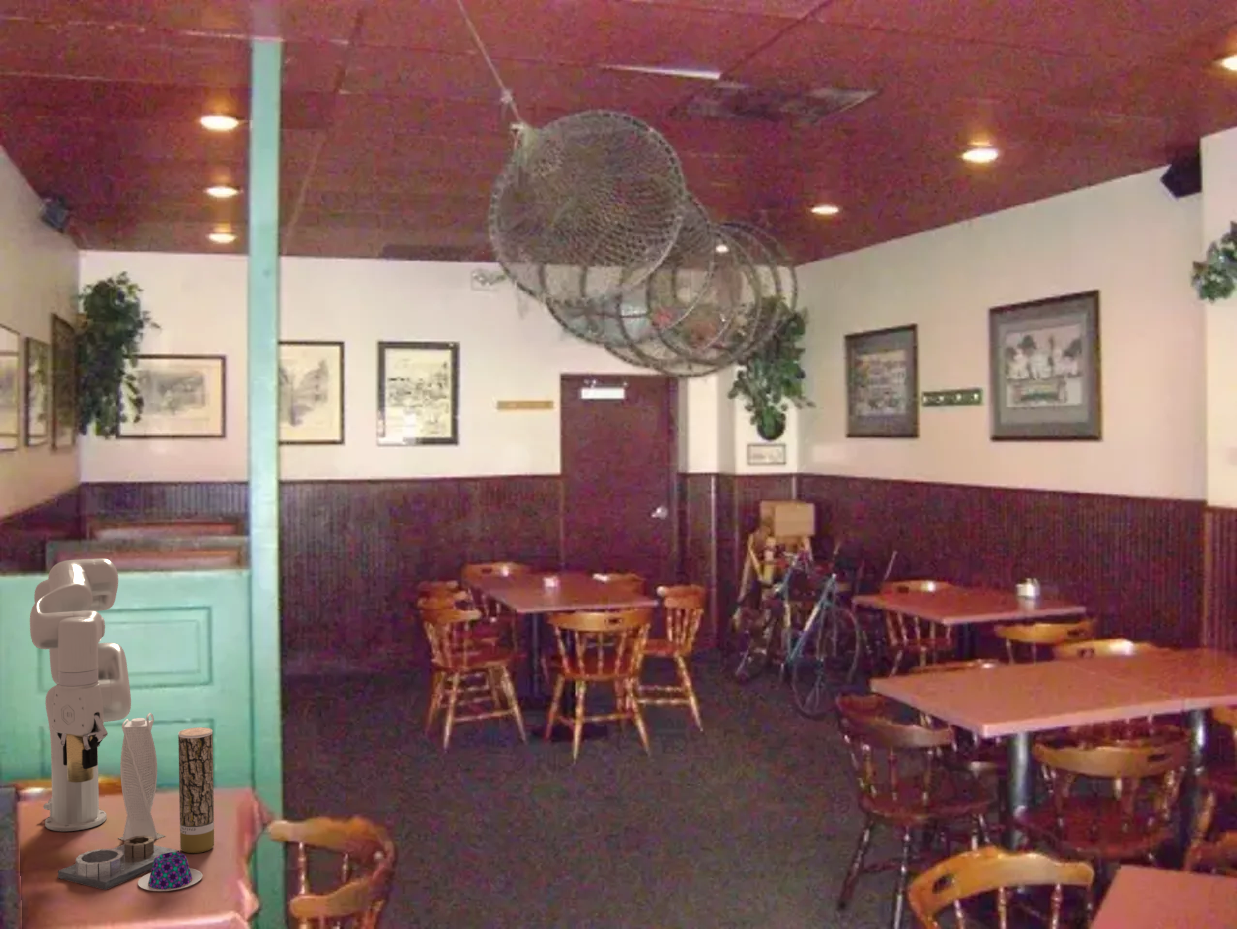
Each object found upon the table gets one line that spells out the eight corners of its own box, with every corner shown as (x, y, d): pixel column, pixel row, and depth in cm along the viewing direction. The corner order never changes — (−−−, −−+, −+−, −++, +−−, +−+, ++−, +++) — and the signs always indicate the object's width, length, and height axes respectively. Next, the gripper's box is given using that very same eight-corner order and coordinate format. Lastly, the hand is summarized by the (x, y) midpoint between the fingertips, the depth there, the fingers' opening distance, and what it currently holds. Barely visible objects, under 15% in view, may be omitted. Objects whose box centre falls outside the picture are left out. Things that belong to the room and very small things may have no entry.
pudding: (145, 872, 256) (145, 847, 255) (207, 870, 257) (207, 844, 257) (131, 896, 244) (130, 869, 243) (196, 893, 245) (195, 866, 245)
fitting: (62, 780, 261) (60, 732, 260) (82, 773, 266) (80, 726, 265) (79, 783, 259) (78, 735, 258) (99, 777, 263) (98, 729, 263)
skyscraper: (169, 839, 275) (167, 711, 273) (136, 850, 268) (133, 718, 266) (146, 831, 280) (144, 705, 278) (113, 841, 273) (110, 712, 271)
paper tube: (203, 855, 264) (201, 736, 263) (173, 853, 265) (171, 735, 264) (220, 844, 271) (218, 728, 269) (191, 842, 272) (189, 726, 271)
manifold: (58, 878, 252) (57, 858, 251) (133, 847, 269) (133, 829, 268) (105, 889, 246) (105, 869, 246) (179, 857, 263) (179, 838, 263)
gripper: (34, 677, 261) (36, 764, 262) (93, 685, 254) (95, 776, 255) (64, 670, 268) (66, 755, 269) (123, 678, 261) (124, 766, 262)
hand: (80, 764), depth 262 cm, fingers closed on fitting, 5 cm apart
